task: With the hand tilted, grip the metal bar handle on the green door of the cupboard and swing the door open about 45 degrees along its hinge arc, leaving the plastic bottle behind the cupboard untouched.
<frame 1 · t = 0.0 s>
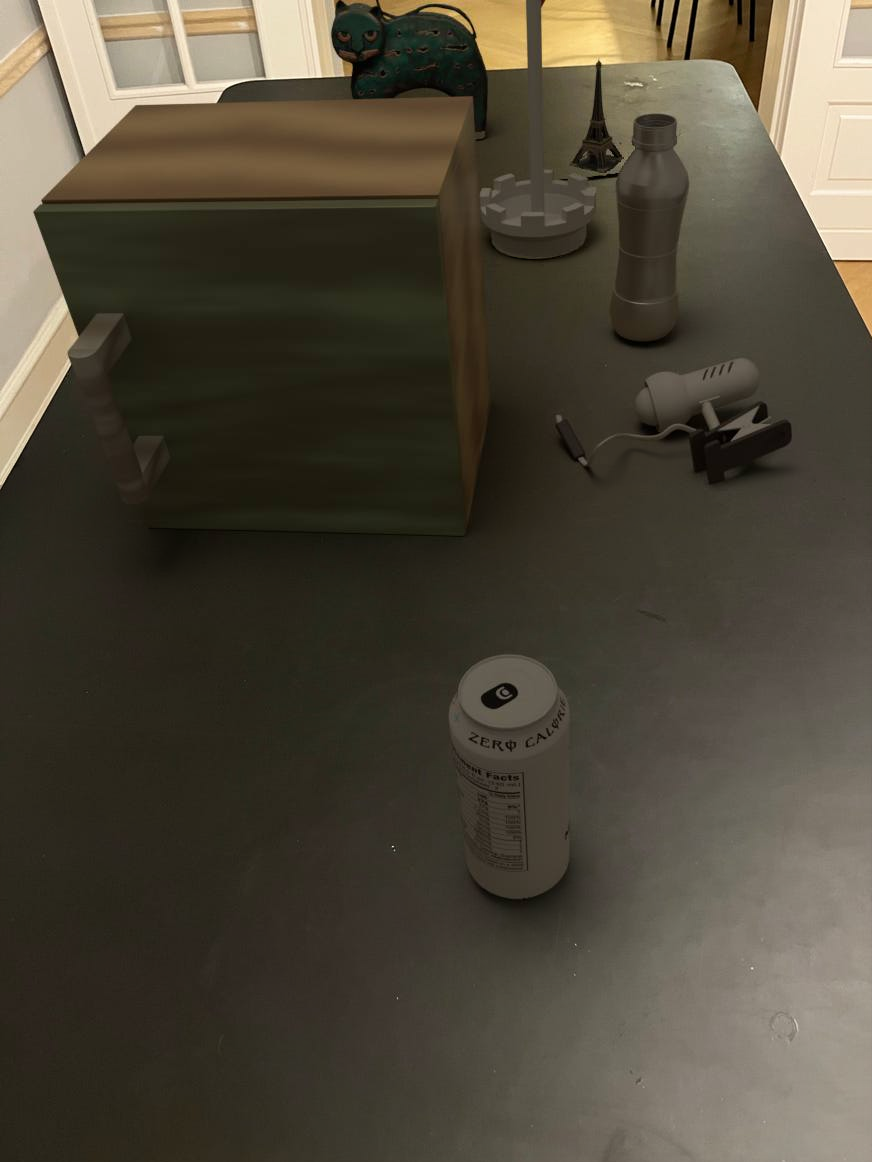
energy drink can: (518, 864, 61), on the table
eiffel tower figurine: (597, 166, 135), on the table
ceramic cat: (419, 141, 145), on the table
cupboard: (331, 458, 91), on the table
clip-on lamp: (665, 452, 89), on the table
cupboard door: (262, 408, 73), point 13 cm above the table, hinge at 0.0°
flag stand: (538, 240, 120), on the table
plastic bottle: (642, 335, 103), on the table
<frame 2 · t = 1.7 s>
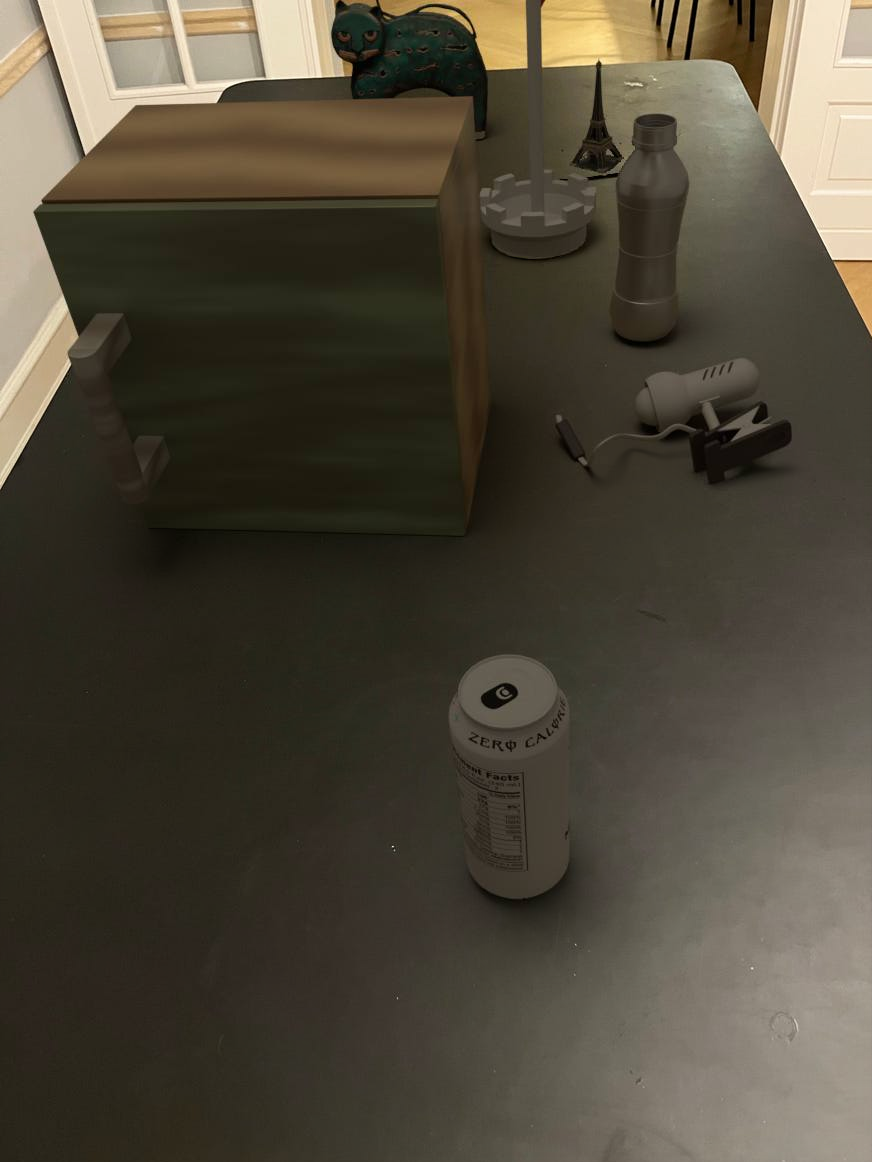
nothing on the table moved.
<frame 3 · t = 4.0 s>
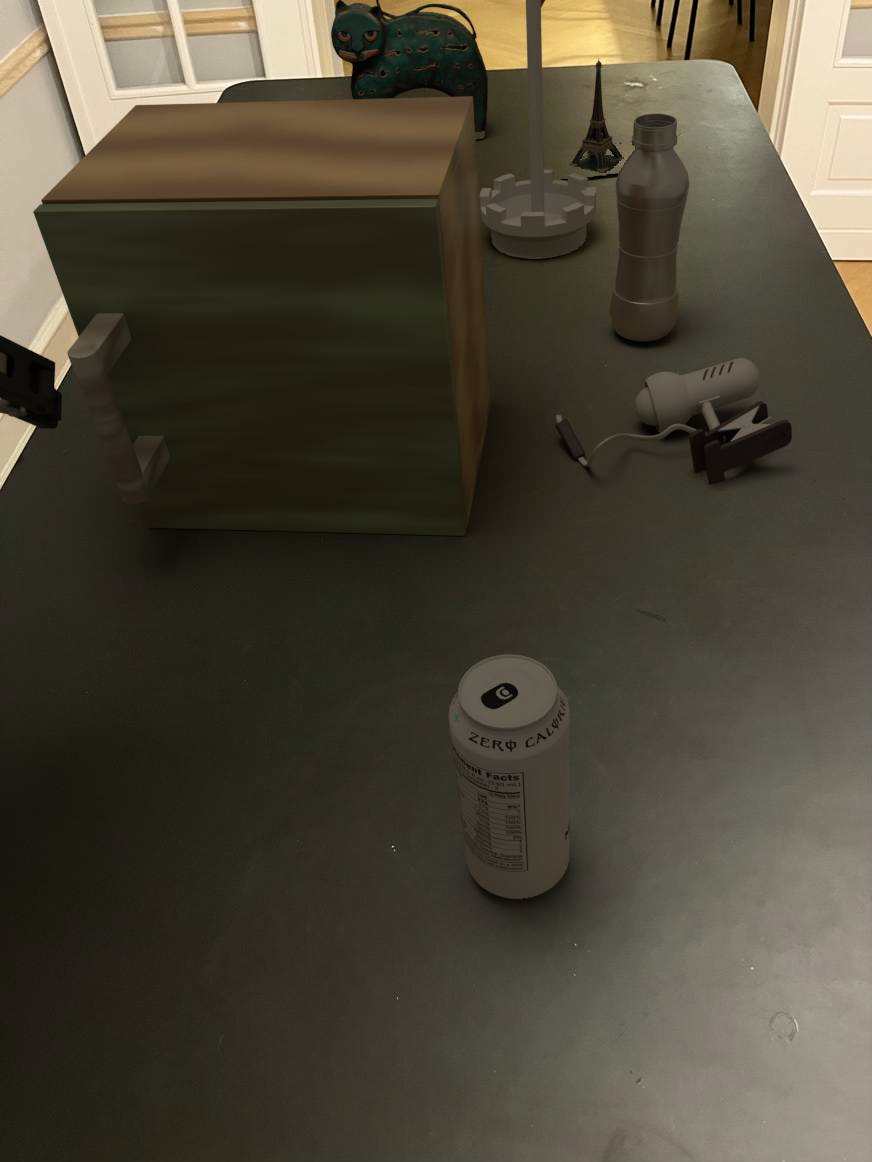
nothing on the table moved.
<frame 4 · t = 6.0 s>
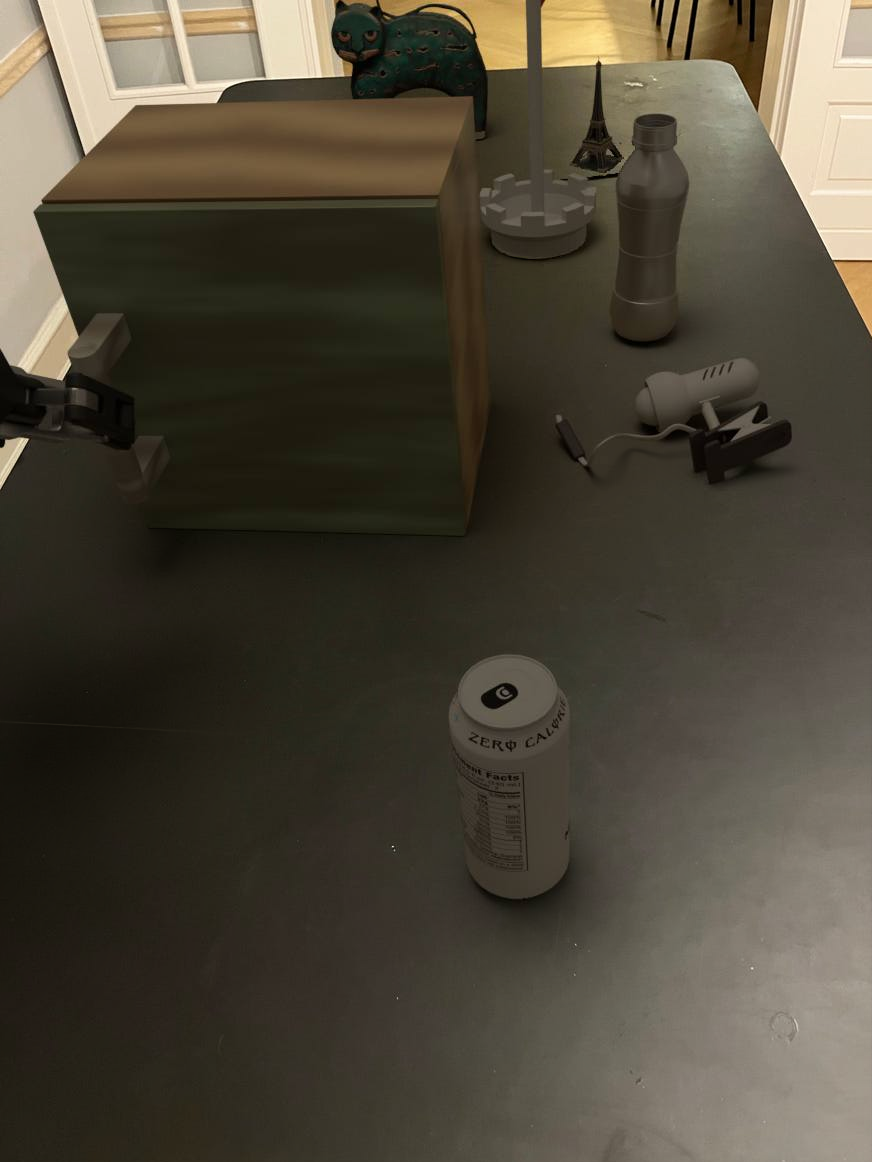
hand: (62, 433, 66), 16 cm above the table, tool tilted 45°, fingers open, 8 cm apart
nothing on the table moved.
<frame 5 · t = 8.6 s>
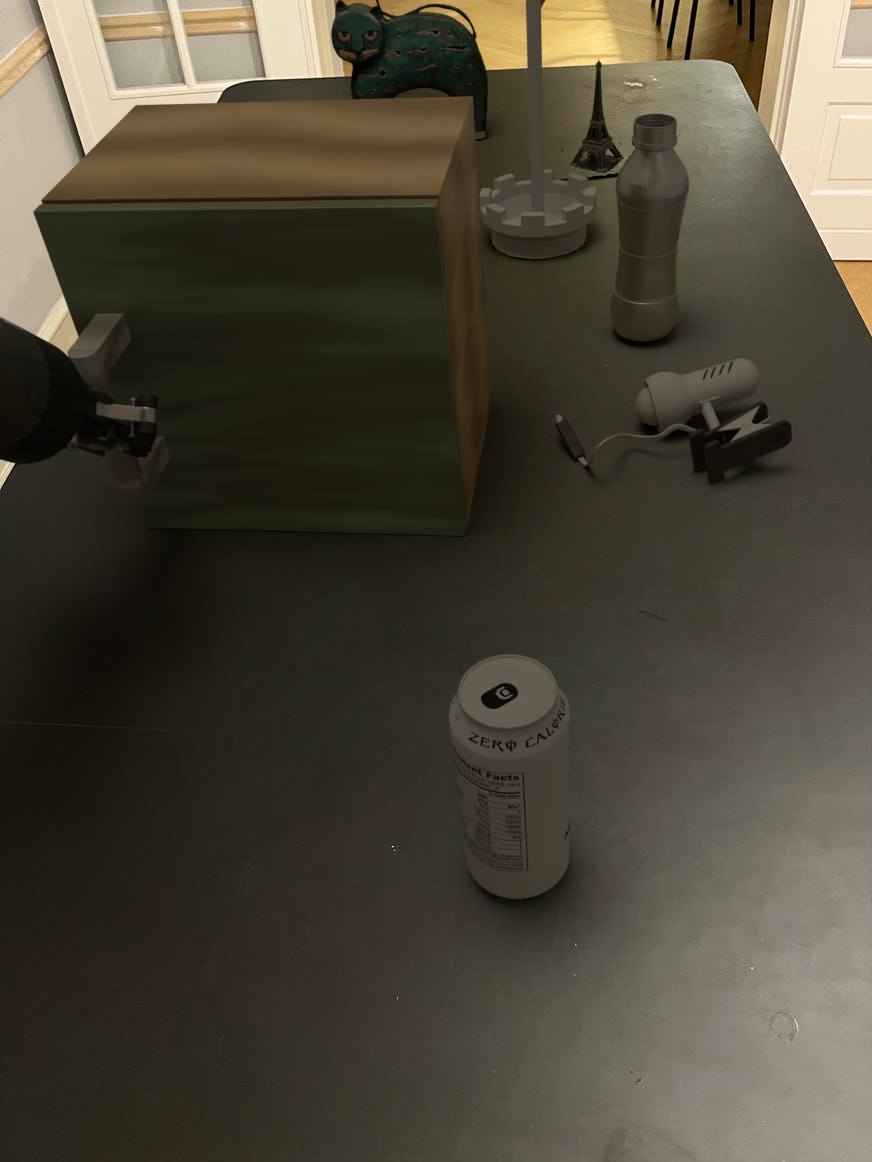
hand: (125, 442, 75), 11 cm above the table, tool tilted 45°, fingers closed on cupboard door, 2 cm apart
cupboard door: (262, 408, 73), point 13 cm above the table, hinge at 0.0°, touching gripper
everything else where it was.
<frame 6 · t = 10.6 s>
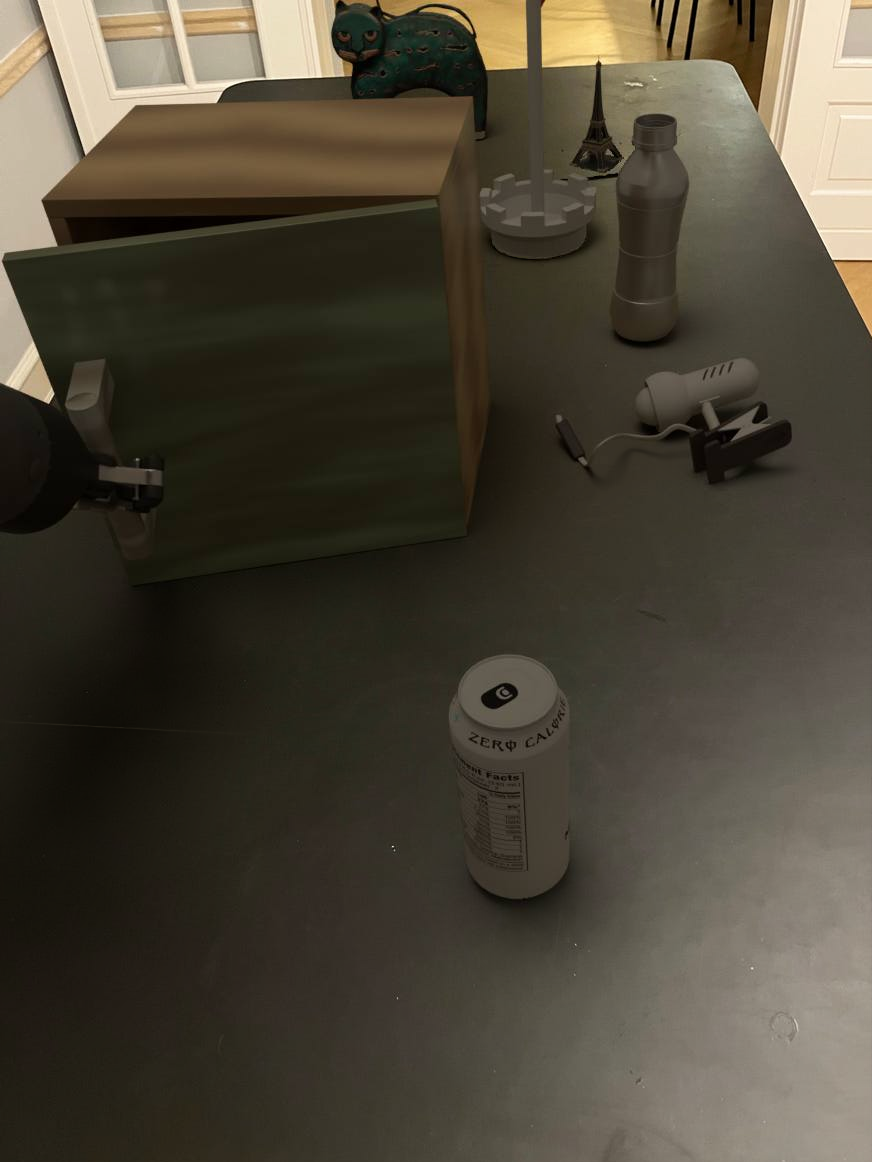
hand: (125, 497, 70), 11 cm above the table, tool tilted 45°, fingers closed on cupboard door, 2 cm apart
cupboard door: (267, 437, 70), point 13 cm above the table, hinge at 15.7°, touching gripper
everything else where it was.
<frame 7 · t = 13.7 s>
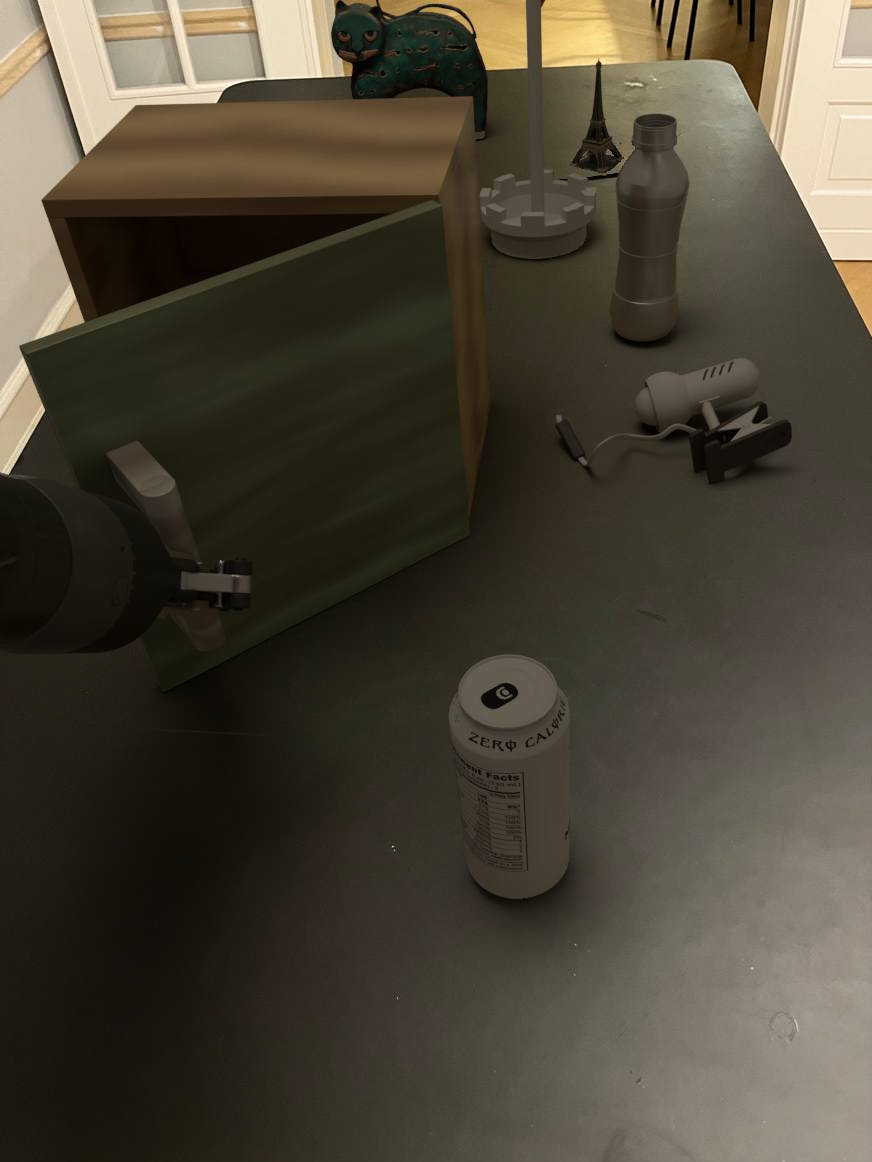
hand: (196, 589, 63), 11 cm above the table, tool tilted 45°, fingers closed on cupboard door, 2 cm apart
cupboard door: (313, 480, 67), point 13 cm above the table, hinge at 43.0°, touching gripper
everything else where it was.
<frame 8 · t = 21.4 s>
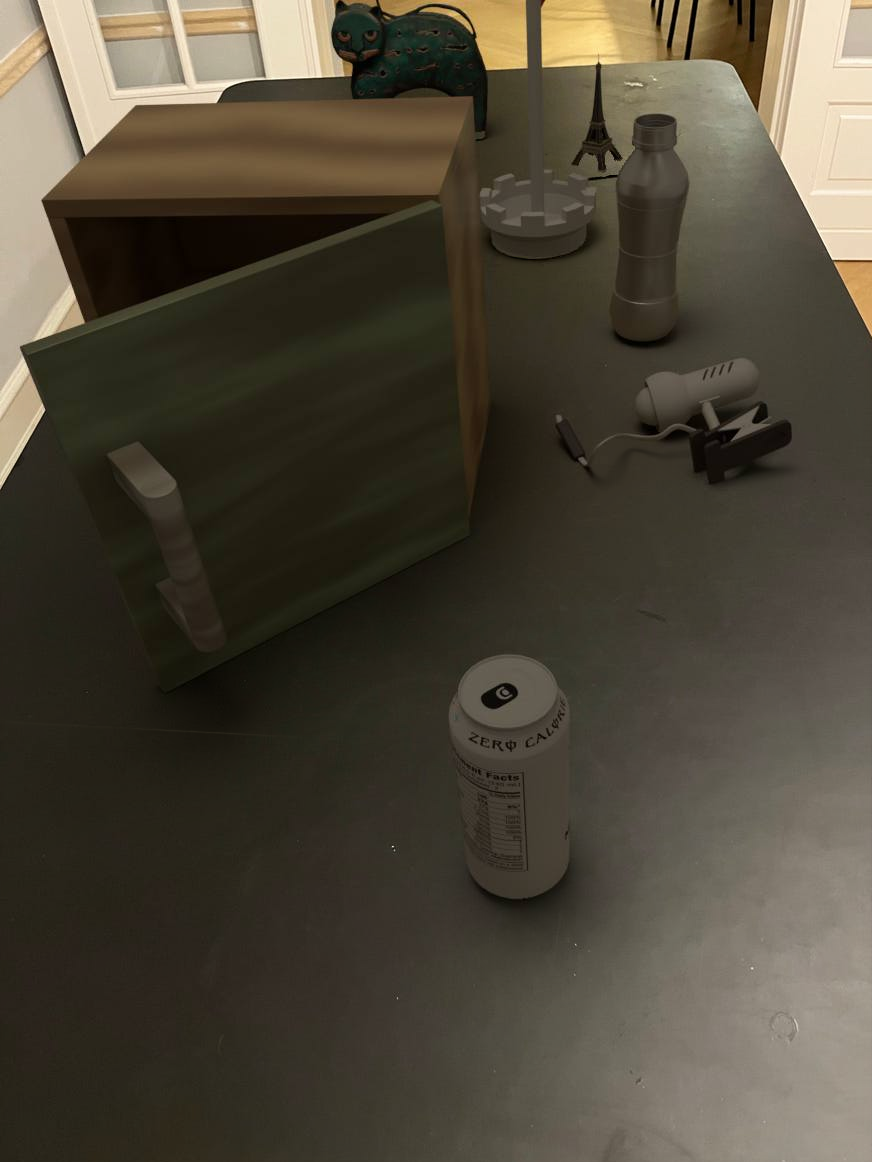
cupboard door: (313, 480, 67), point 13 cm above the table, hinge at 43.3°
everything else where it was.
at the end: cupboard door at +43° (first picture: +0°); plastic bottle moved 0.2 cm from its start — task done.
